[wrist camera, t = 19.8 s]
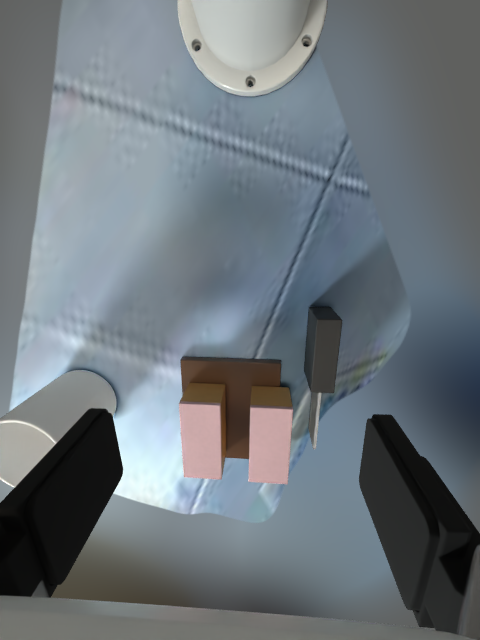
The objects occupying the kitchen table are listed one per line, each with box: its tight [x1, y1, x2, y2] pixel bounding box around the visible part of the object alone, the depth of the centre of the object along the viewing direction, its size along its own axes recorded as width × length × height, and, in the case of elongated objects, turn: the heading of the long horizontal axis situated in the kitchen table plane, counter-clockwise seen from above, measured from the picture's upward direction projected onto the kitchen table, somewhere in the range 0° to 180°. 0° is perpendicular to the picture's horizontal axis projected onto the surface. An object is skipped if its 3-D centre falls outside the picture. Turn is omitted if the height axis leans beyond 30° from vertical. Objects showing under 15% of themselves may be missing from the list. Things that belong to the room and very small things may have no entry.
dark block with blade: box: [304, 307, 342, 449], centre depth 32 cm, size 16×2×5 cm, turn 0°
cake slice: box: [249, 386, 293, 484], centre depth 34 cm, size 10×4×4 cm, turn 179°
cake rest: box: [179, 383, 226, 479], centre depth 34 cm, size 10×4×4 cm, turn 0°
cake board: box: [181, 357, 281, 459], centre depth 36 cm, size 14×12×1 cm
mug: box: [0, 370, 117, 487], centre depth 33 cm, size 9×12×11 cm
